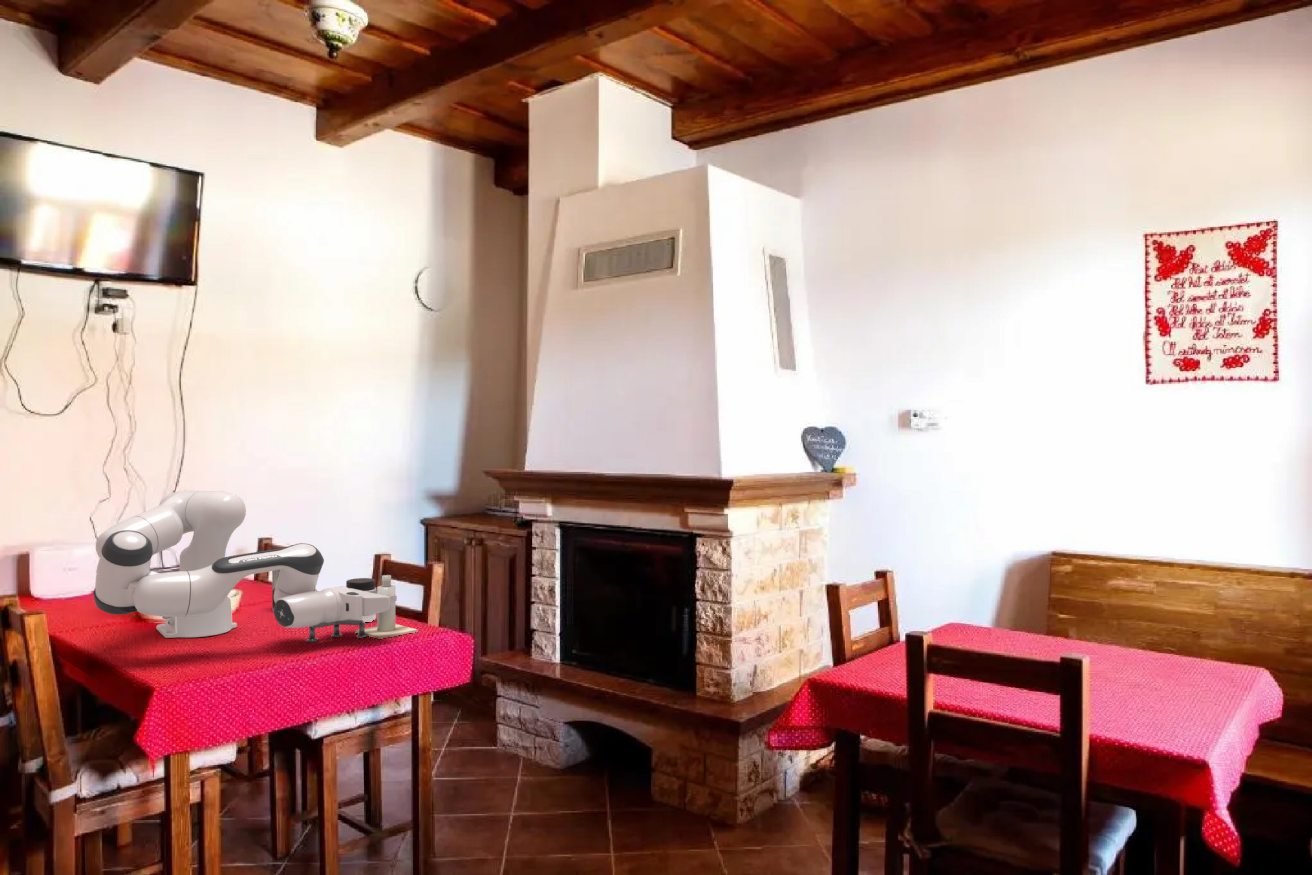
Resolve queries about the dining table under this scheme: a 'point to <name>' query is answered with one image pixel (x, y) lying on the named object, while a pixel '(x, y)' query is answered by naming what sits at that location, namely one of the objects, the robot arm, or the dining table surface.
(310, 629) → the grey angled rail stand
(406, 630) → the birch board
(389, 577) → the stoneware bottle
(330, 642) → the dining table surface
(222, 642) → the dining table surface
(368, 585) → the jar
